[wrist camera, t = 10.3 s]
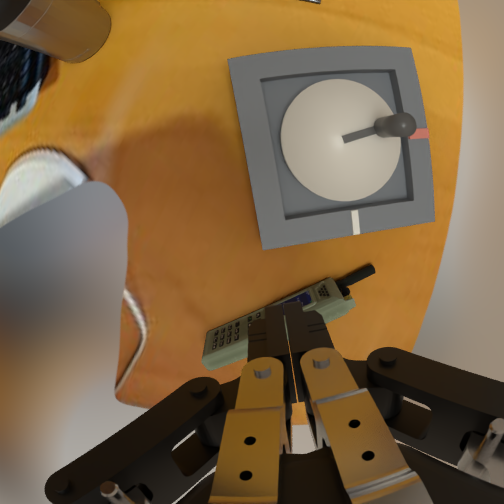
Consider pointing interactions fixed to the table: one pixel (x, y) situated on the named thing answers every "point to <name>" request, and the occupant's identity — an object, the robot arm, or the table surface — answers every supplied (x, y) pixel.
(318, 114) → the dial
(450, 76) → the table surface
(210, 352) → the handheld radio
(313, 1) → the rod
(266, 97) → the panel
